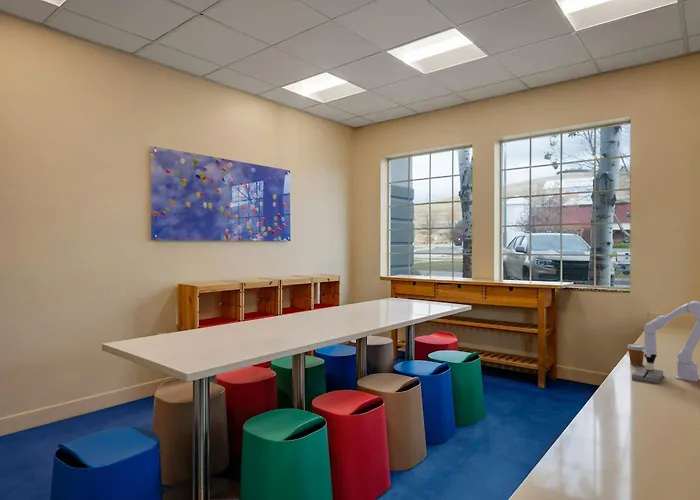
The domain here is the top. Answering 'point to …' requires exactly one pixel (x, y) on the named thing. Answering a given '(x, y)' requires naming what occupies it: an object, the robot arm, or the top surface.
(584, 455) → the top surface
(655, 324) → the robot arm
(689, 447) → the top surface
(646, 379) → the fader console
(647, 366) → the fader tab
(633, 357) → the disposable coffee cup
